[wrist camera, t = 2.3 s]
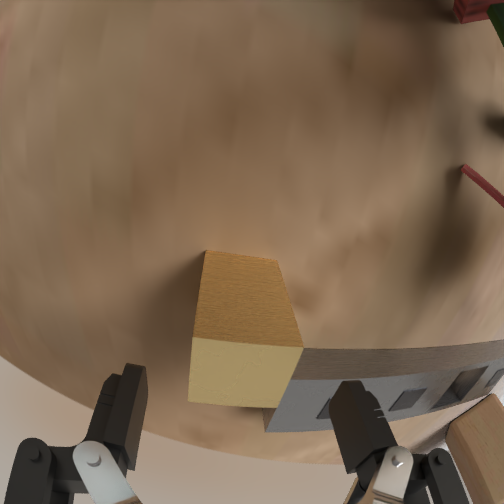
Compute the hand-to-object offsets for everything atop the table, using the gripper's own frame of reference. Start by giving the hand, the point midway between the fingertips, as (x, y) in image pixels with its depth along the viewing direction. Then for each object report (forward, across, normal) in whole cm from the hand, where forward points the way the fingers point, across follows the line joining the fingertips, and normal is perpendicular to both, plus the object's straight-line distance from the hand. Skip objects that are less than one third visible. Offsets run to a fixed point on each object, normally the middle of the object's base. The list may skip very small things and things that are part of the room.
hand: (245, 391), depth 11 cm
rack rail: (+7, -19, +8) cm, 21 cm away
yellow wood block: (+7, 0, 0) cm, 7 cm away
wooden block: (+8, -44, +23) cm, 50 cm away
